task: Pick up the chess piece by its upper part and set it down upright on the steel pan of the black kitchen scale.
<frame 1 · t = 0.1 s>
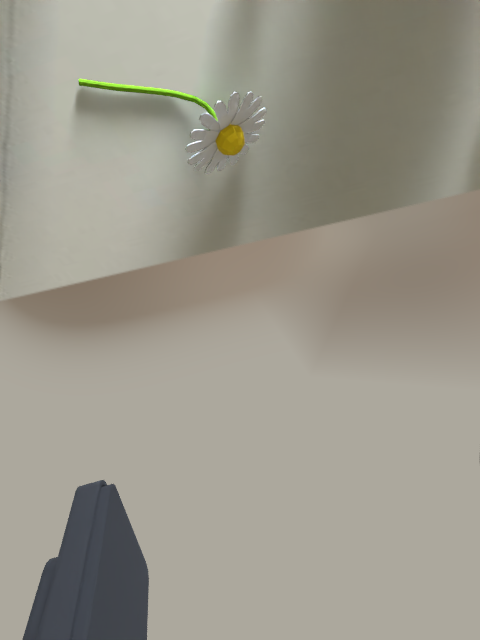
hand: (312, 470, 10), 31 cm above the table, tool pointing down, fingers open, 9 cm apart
decorative flower: (173, 132, 35), on the table
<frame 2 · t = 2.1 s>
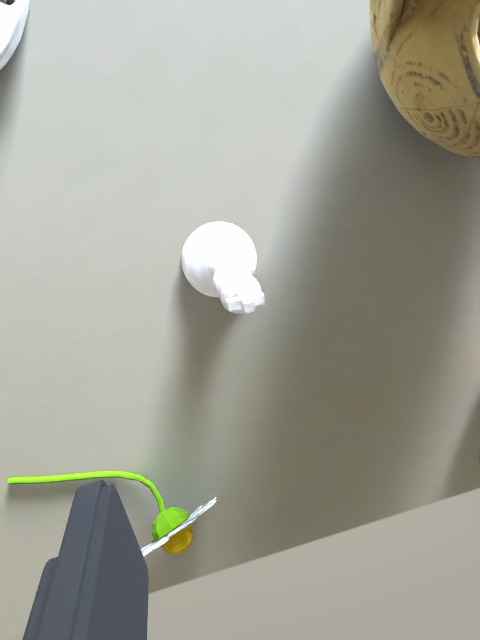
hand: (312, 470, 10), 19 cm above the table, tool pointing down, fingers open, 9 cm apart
chess piece: (218, 259, 27), on the table
ceramic bowl: (451, 16, 25), on the table
decorative flower: (118, 500, 32), on the table
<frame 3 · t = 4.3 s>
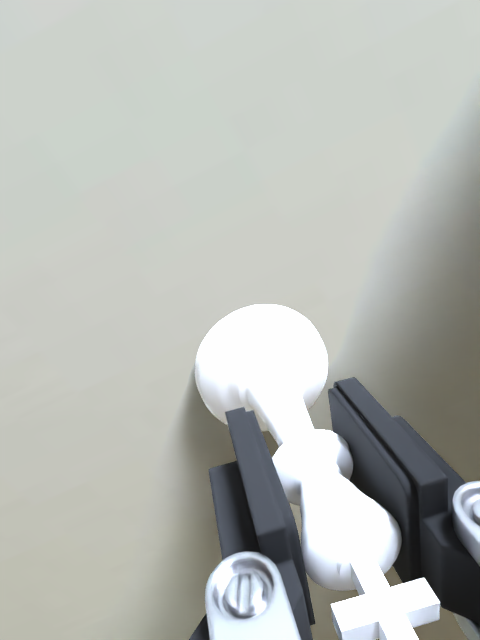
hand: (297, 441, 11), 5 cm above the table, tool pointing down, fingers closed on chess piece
chess piece: (259, 364, 15), on the table, touching gripper
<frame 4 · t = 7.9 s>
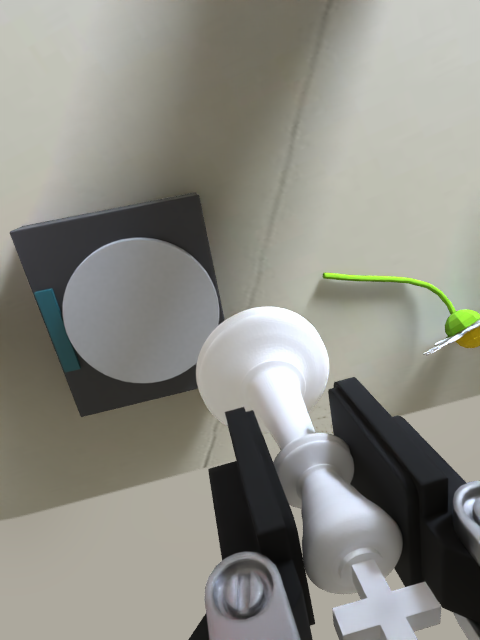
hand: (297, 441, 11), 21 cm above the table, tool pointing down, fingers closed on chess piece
chess piece: (260, 366, 15), point 17 cm above the table, touching gripper
scale: (137, 302, 31), on the table
decorative flower: (398, 311, 35), on the table
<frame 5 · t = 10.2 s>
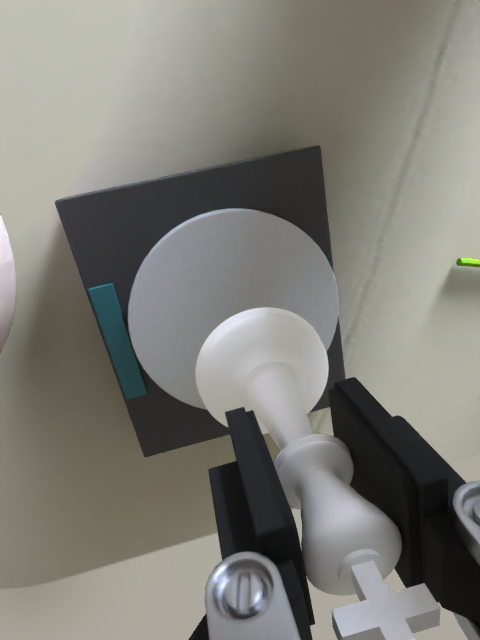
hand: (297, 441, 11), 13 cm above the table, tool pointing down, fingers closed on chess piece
chess piece: (260, 367, 15), point 8 cm above the table, touching gripper
scale: (217, 302, 23), on the table
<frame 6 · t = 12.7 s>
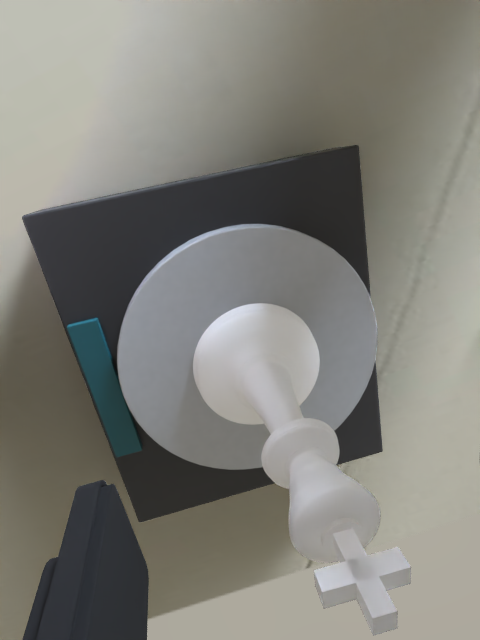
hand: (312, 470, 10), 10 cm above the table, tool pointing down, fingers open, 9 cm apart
chess piece: (254, 360, 16), point 3 cm above the table, touching scale
scale: (227, 334, 19), on the table
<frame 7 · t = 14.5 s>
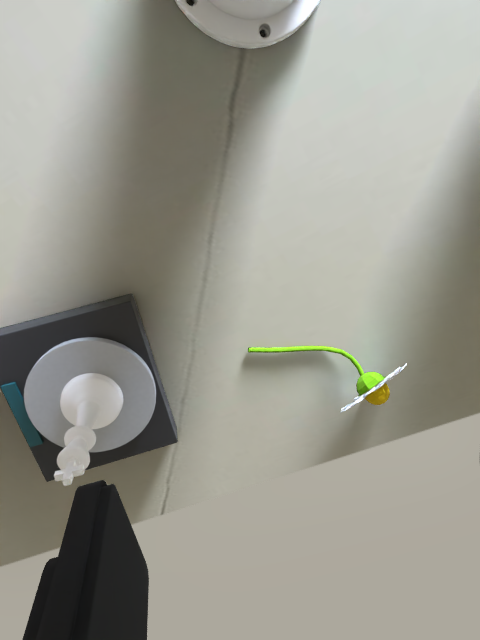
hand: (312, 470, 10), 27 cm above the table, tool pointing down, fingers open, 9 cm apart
chess piece: (92, 398, 34), point 3 cm above the table, touching scale
scale: (90, 383, 37), on the table
decorative flower: (319, 373, 41), on the table
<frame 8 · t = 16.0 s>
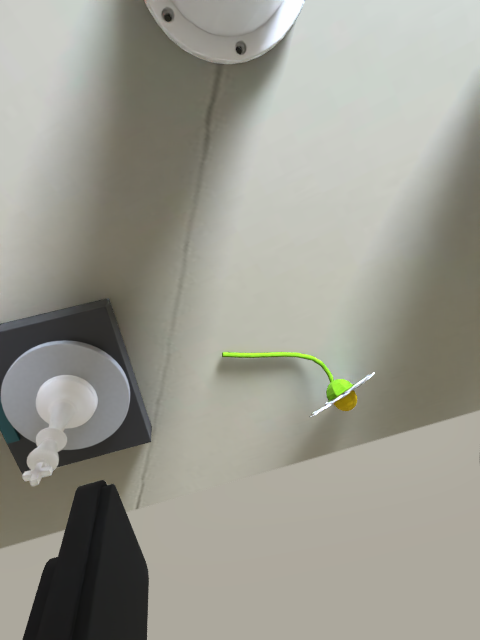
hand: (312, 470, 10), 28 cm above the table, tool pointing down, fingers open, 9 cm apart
chess piece: (68, 399, 35), point 3 cm above the table, touching scale
scale: (68, 382, 38), on the table
decorative flower: (291, 378, 42), on the table
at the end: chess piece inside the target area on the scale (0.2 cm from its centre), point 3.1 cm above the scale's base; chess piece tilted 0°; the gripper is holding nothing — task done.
